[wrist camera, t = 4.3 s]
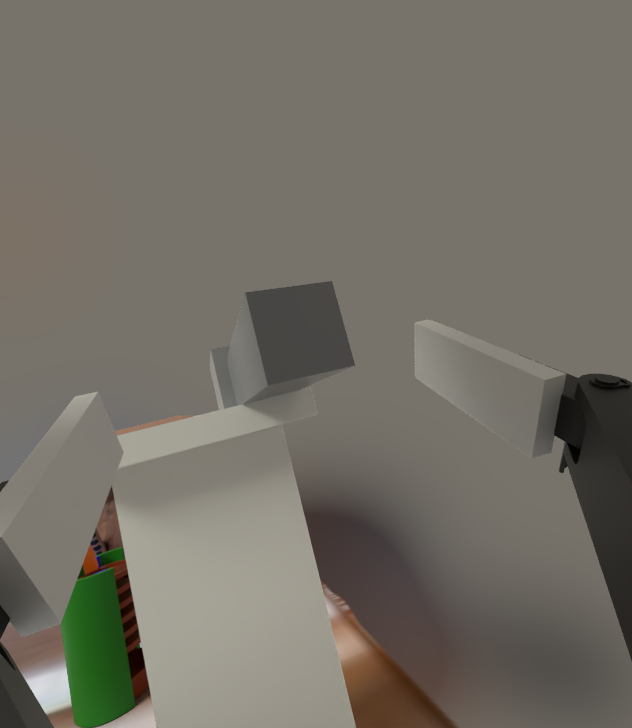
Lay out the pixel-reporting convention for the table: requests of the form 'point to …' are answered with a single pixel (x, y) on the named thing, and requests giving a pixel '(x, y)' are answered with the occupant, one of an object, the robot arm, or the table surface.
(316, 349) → the bar
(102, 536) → the ceramic pitcher
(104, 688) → the motor
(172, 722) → the stand
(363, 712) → the table surface
